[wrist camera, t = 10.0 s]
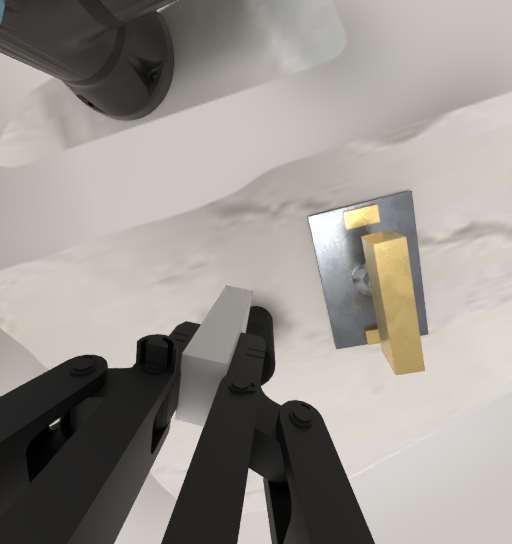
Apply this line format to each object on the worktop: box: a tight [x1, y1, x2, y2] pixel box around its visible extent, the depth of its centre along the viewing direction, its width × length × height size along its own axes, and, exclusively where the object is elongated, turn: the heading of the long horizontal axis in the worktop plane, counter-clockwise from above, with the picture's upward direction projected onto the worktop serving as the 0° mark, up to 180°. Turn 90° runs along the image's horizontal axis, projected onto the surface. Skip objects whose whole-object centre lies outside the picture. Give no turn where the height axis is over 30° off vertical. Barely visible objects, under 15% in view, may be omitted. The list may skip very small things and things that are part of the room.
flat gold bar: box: [361, 230, 425, 375], centre depth 33 cm, size 3×16×7 cm, turn 16°
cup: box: [246, 306, 275, 385], centre depth 41 cm, size 8×8×12 cm
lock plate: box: [308, 191, 428, 349], centre depth 40 cm, size 22×14×6 cm, turn 15°
